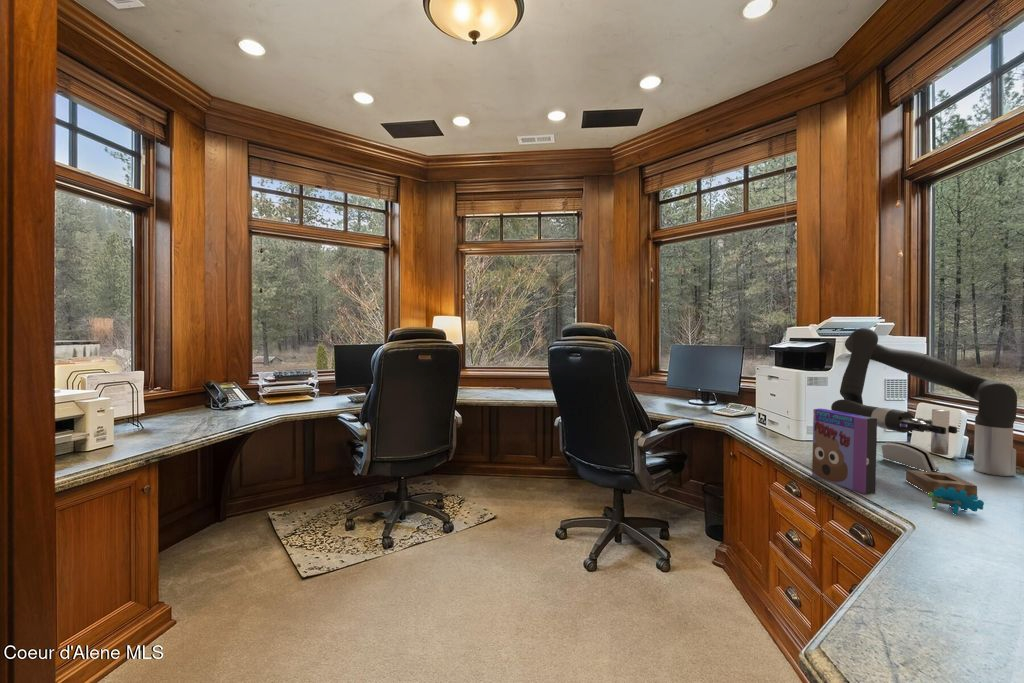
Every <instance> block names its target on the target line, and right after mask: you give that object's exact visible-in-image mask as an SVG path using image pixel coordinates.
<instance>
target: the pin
mask: <svg viewBox="0 0 1024 683" xmlns="http://www.w3.org/2000/svg"><path fill="white" fill-rule="evenodd" d="M950 414H951V413H950V410H947V409H939V408H938V409H937V408H935V409H934V408H932V409H931V420H932V425H935V426H941V427H945V428H946V434H939V433H934V432H931V431H930V453H932V454H935V455H939V456H941V455H942V456H948V455H949V445H950V444H949V443H950V442H949V441H950V440H949V439H950V438H949V437H950V433H949V426H950Z"/></svg>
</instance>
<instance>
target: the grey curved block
mask: <svg viewBox="0 0 1024 683" xmlns="http://www.w3.org/2000/svg"><path fill="white" fill-rule="evenodd" d="M880 446H881V451H882V458H886V459H889V460H892V461H896V462H899V463H902V464H905V465H908V466H911V467H915V468H917V469H921V470H924V471H927V472H936V471H939V472H940V469H939V467H938V466H936V465H935V463H934V460H933V458H932V455H931V454H930V453H931V452H929V451H928V450H926V449H924V448H922V447H920V446H917V445H916V444H912V443H909V442H904V441H897V440H895V441H894V440H892V441H887V442H885V443H883V444H881V445H880ZM917 469H916V470H917ZM932 470H933V471H932ZM935 470H936V471H935Z"/></svg>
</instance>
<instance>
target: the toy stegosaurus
mask: <svg viewBox="0 0 1024 683" xmlns="http://www.w3.org/2000/svg"><path fill="white" fill-rule="evenodd" d="M966 495H967V491H964V490H960V493H958V492H957V491H956V490H955V488H952V487H949V488H948V490H946V489H945V488H943V487H939V490H937V489H934V493H933V492H929V494H927V496H928V498H931V501H932V502H933V503H932V506H931V507H936V508H937V504H942V505H948V506H949V507H950V506H951V507H950V508H952V512H951V513H954V514H959V509H960V510H961V509H964V510H967V511H968V510H970V511H972V512H975V513H976V512H978V510H982V511H983V510H984V505H985V502H984V501H983V500H982V499H979V496H978V495H977V496H975V495H971V497H968V496H966ZM964 510H963V511H964Z"/></svg>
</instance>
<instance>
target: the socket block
mask: <svg viewBox="0 0 1024 683" xmlns="http://www.w3.org/2000/svg"><path fill="white" fill-rule="evenodd" d="M906 480H907V481H908V482H910V483H911V484H913V485H915V486H917V487H918V488H920V489H922V490H923V491H925V492H927V493H929V492H933V493H934V489H937V490H939V487H943V488H945V489H946V490H948V488H949V487H952V488H955V490H956V491H957V492H958V493H960V490H964V491H967V495H966V496H968V497H971V495H975V496H977V497H978V485H976V484H975V483H972V482H969V481H967V480H966V479H963V478H961V477H959V476H957V475H955V474H952V473H950V472H949V473H946V472H936V471H931V472H926V471H920V470H915V469H913V470H912V469H906V470H905V481H906ZM908 482H907V483H908ZM911 484H910V485H911ZM913 485H912V486H913ZM915 486H914V487H915ZM918 488H917V489H918ZM920 489H919V490H920ZM922 490H921V491H922ZM923 491H922V492H923ZM925 492H924V493H925ZM927 493H926V494H927Z"/></svg>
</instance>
